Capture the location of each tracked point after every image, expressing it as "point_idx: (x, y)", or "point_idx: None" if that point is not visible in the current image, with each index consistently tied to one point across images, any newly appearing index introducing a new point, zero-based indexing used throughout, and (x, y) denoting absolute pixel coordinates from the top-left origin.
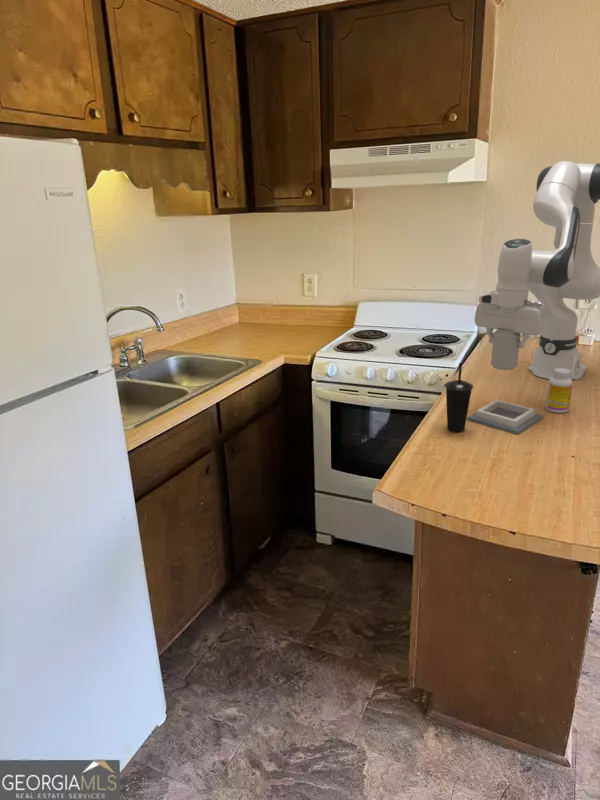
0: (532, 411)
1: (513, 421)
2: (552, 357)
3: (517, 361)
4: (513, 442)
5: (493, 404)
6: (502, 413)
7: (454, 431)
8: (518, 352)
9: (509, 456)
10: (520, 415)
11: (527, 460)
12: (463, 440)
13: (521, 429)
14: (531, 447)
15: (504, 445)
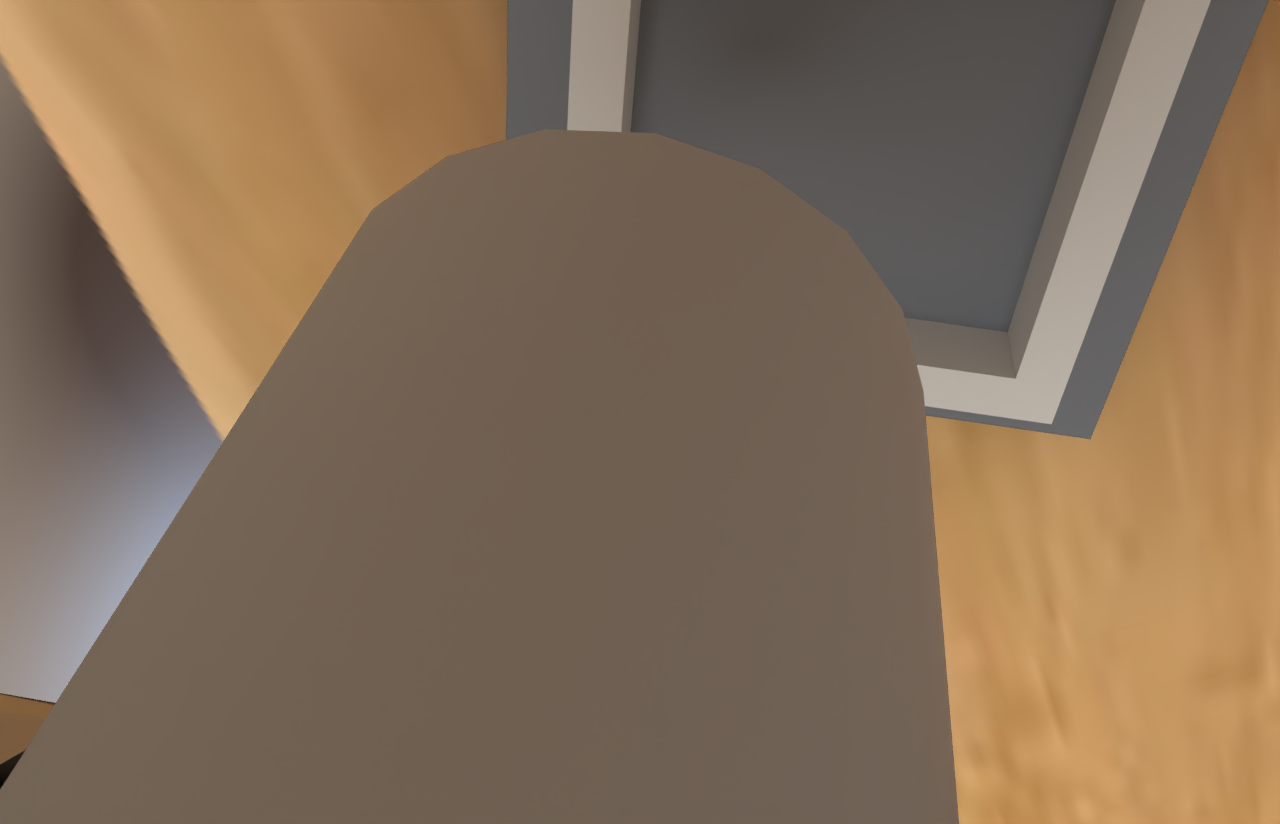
0: (1206, 7)
1: (1021, 415)
2: None
3: (929, 477)
4: (1076, 560)
5: (627, 53)
6: (787, 59)
7: None
8: (944, 677)
9: (1094, 748)
10: (1067, 243)
11: (1235, 753)
12: None
13: (1113, 379)
14: (1247, 579)
15: (1016, 629)
